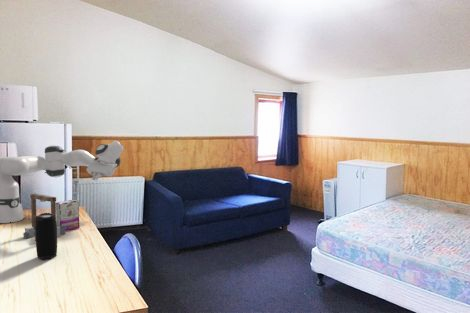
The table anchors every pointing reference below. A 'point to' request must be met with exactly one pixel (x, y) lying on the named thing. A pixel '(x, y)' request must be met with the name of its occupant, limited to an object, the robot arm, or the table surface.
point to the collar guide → (31, 232)
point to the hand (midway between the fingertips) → (94, 179)
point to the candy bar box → (67, 214)
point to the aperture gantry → (42, 199)
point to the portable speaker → (46, 236)
